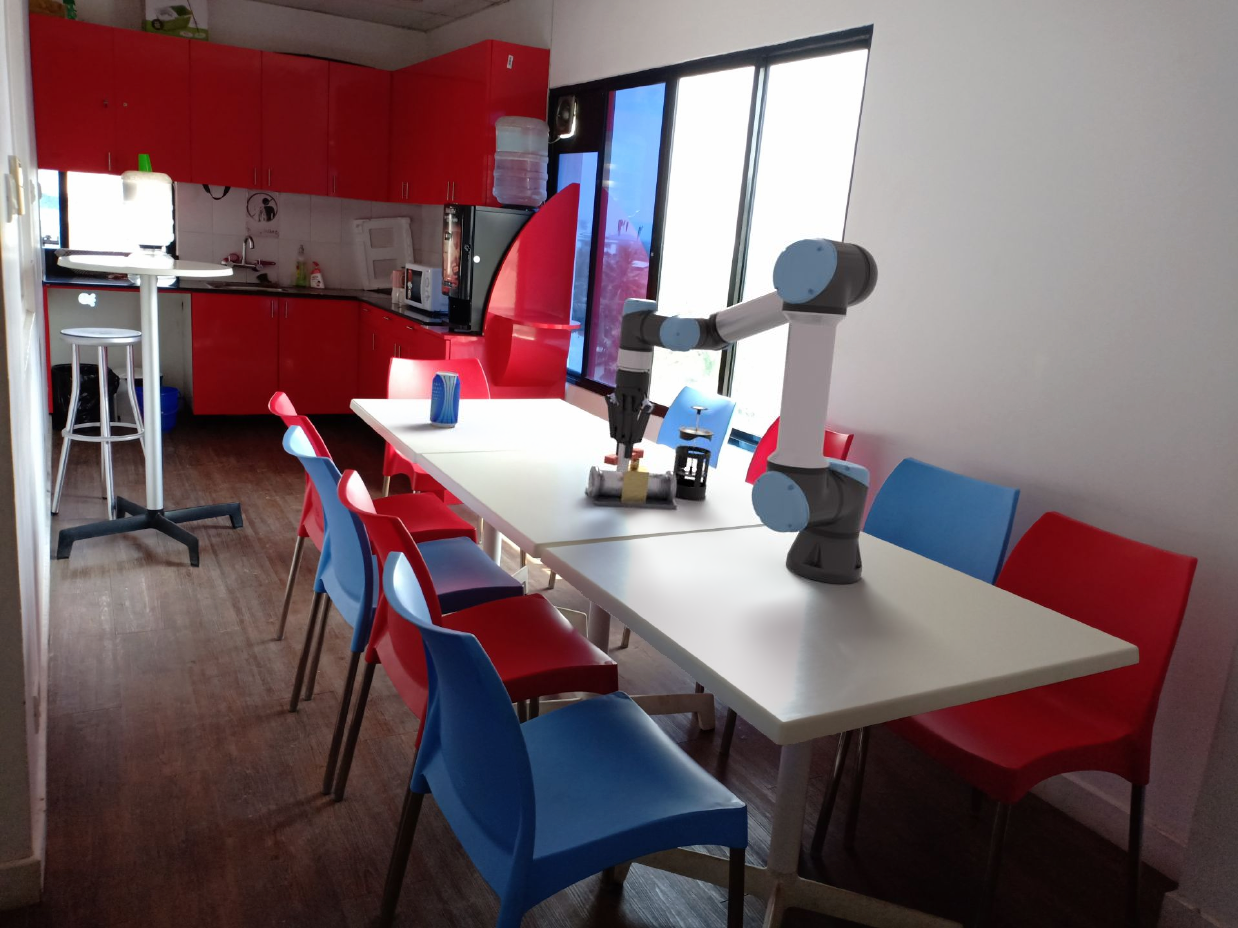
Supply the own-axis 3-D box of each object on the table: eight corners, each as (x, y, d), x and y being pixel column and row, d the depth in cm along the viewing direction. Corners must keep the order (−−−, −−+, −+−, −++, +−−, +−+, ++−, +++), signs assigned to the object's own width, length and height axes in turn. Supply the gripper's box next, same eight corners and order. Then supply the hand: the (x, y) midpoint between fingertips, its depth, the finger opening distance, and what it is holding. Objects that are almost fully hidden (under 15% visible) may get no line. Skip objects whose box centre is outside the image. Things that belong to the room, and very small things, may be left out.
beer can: (426, 422, 285) (430, 370, 281) (453, 422, 289) (457, 371, 285) (433, 428, 278) (436, 375, 274) (460, 428, 281) (464, 376, 278)
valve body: (663, 495, 232) (668, 455, 230) (676, 509, 221) (682, 467, 218) (585, 491, 227) (589, 449, 225) (594, 505, 216) (599, 461, 214)
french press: (713, 501, 232) (726, 411, 227) (679, 501, 228) (692, 410, 223) (692, 488, 243) (704, 402, 237) (660, 488, 239) (671, 400, 234)
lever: (632, 453, 224) (633, 447, 224) (645, 456, 222) (646, 450, 222) (602, 462, 211) (603, 455, 211) (616, 465, 210) (616, 459, 209)
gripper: (666, 373, 206) (654, 475, 211) (621, 364, 213) (610, 463, 219) (646, 374, 200) (634, 479, 205) (600, 364, 207) (590, 466, 213)
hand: (622, 471), depth 212 cm, fingers closed
